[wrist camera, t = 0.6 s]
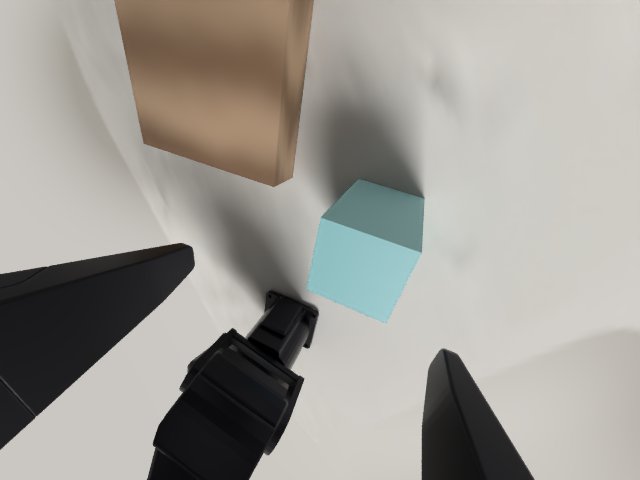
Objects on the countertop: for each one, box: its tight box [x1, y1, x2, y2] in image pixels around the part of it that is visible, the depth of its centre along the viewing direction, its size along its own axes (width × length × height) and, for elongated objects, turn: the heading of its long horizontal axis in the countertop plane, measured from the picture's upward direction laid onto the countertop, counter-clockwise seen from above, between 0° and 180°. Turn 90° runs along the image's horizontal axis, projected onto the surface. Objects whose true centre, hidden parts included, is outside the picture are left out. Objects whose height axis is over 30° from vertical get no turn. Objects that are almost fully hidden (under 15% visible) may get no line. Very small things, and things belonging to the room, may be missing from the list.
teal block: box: [306, 179, 424, 323], centre depth 16 cm, size 5×5×8 cm
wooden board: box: [114, 0, 314, 187], centre depth 17 cm, size 13×13×3 cm
